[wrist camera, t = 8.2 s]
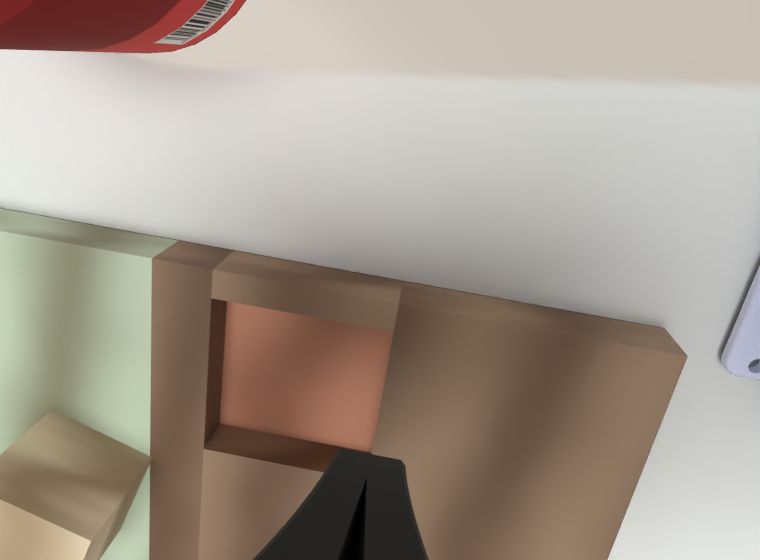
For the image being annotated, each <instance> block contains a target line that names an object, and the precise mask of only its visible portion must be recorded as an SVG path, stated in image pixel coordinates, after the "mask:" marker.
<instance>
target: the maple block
mask: <svg viewBox="0 0 760 560" xmlns="http://www.w3.org/2000/svg"><path fill="white" fill-rule="evenodd" d="M152 458H153V457H151V456H149V455H147V454H144V453H142V452H140V451H138V450H136V449H134V448H132V447H130V446H128V445H126V444H124V443H121V442H119V441H117V440H115V439H113V438H111V437H109V436H107V435H105V434H103V433H101V432H98V431H96V430H94V429H92V428H90V427H88V426H86V425H84V424H82V423H80V422H77V421H75V420H73V419H71V418H69V417H67V416H65V415H63V414H61V413H59V412H57V411H54V410H50V411H49V412H48V413H47V414H46V415H45V416H44V417H43V418H41V419H40V420H39V421H38V422H37V423H36V424H35V425H33V426H32V427H31V428H30V429H29V430H28V431H27V432H26V433H24V434H23V435H22V436H21V437H20V438H19V439H18V440H17V441H15V442H14V443H13V444H12V445H11V446H10V447H9V448H8V449H6V450H5V451H4V452H3V453H2V454H1V455H0V560H100V558H101V557H102V556H103V554H104V553H105V551H106V550H107V548H108V547H109V545H110V544H111V543H112V541H113V540H114V538H115V537H116V535H117V534H118V532H119V531H120V530H121V527H122V525H123V523H124V521H125V518H126V516H127V514H128V512H129V509H130V507H131V505H132V503H133V500H134V498H135V496H136V494H137V491H138V489H139V487H140V485H141V483H142V480H143V478H144V476H145V474H146V471H147V469H148V467H149V465H150V462H151V460H152Z"/></svg>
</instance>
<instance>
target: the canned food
mask: <svg viewBox="0 0 760 560" xmlns="http://www.w3.org/2000/svg"><path fill="white" fill-rule="evenodd" d="M245 1H246V0H0V49H15V50H51V51H86V52H121V53H159V52H172V51H176V50H178V49H182V48H185V47H189V46H191V45H195V44H197V43H199V42H200V41H202V40H204V39H205V38H207V37H209V36H211V35H212V34H214V33H216V32H217V31H218V30H219V29H220V28H222V27H223V26H224V25H225V24H226V23H227V22H228V21H229V20H230V19H231V18H232V17H233V16H235V15H236V13H237V12H238V11H239V9H240V8H241V7H242V5H243V4H244V3H245Z"/></svg>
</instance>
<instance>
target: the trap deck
mask: <svg viewBox="0 0 760 560" xmlns="http://www.w3.org/2000/svg"><path fill="white" fill-rule="evenodd" d="M686 359H687V355H686V354H685V353H684V351H683V350H682V349H681V348H680V347H679V345H678V344H677V343H676V342H675V341H674V339H673V338H672V337H671V336H670V335H669V333H668V332H667V331H666V330H665V328H660V327H654V326H648V325H643V324H637V323H632V322H626V321H621V320H615V319H610V318H604V317H599V316H593V315H588V314H582V313H577V312H571V311H565V310H560V309H554V308H549V307H543V306H538V305H532V304H527V303H521V302H516V301H510V300H505V299H499V298H494V297H488V296H483V295H477V294H471V293H466V292H460V291H455V290H449V289H444V288H438V287H433V286H427V285H422V284H416V283H411V282H405V281H400V280H394V279H389V278H383V277H377V276H372V275H366V274H361V273H355V272H350V271H344V270H339V269H333V268H328V267H322V266H317V265H311V264H306V263H300V262H295V261H289V260H283V259H278V258H272V257H267V256H261V255H256V254H250V253H245V252H239V251H234V250H228V249H223V248H217V247H212V246H206V245H201V244H195V243H189V242H184V241H178V240H173V239H167V238H162V237H156V236H151V235H145V234H140V233H134V232H129V231H123V230H118V229H112V228H106V227H101V226H95V225H90V224H84V223H79V222H73V221H68V220H62V219H57V218H51V217H46V216H40V215H35V214H29V213H24V212H18V211H12V210H7V209H1V208H0V455H1V454H2V453H3V452H4V451H5V450H6V449H8V448H9V447H10V446H11V445H12V444H13V443H14V442H15V441H17V440H18V439H19V438H20V437H21V436H22V435H23V434H24V433H26V432H27V431H28V430H29V429H30V428H31V427H32V426H33V425H35V424H36V423H37V422H38V421H39V420H40V419H41V418H43V417H44V416H45V415H46V414H47V413H48V412H49V411H50V410H54V411H57V412H59V413H61V414H63V415H65V416H67V417H69V418H71V419H73V420H75V421H77V422H80V423H82V424H84V425H86V426H88V427H90V428H92V429H94V430H96V431H98V432H101V433H103V434H105V435H107V436H109V437H111V438H113V439H115V440H117V441H119V442H121V443H124V444H126V445H128V446H130V447H132V448H134V449H136V450H138V451H140V452H142V453H144V454H147V455H149V456H151V457H153V458H152V460H151V462H150V465H149V467H148V469H147V471H146V474H145V476H144V478H143V480H142V483H141V485H140V487H139V489H138V491H137V494H136V496H135V498H134V500H133V503H132V505H131V507H130V509H129V512H128V514H127V516H126V518H125V521H124V523H123V525H122V527H121V530H120V531H119V532H118V534H117V535H116V537H115V538H114V540H113V541H112V543H111V544H110V545H109V547H108V548H107V550H106V551H105V553H104V554H103V556H102V557H101V558H100V560H253V559H254V558H255V557H256V555H257V554H258V553H259V552H260V551H261V550H262V549H263V548H264V547H265V546H266V545H267V544H268V543H269V542H270V540H271V539H272V538H273V537H274V536H275V535H276V534H277V533H278V532H279V530H280V529H281V528H282V527H283V526H284V525H285V524H286V523H287V521H288V520H289V519H290V518H291V517H292V515H293V514H294V513H295V512H296V510H297V509H298V508H299V506H300V505H301V504H302V503H303V501H304V500H305V499H306V497H307V496H308V495H309V494H310V492H311V491H312V490H313V488H314V487H315V485H316V484H317V482H318V481H319V480H320V478H321V477H322V475H323V473H324V472H325V470H326V469H327V467H328V465H329V464H330V462H331V460H332V458H333V456H334V454H335V452H336V451H338V450H340V449H347V450H352V451H357V452H363V453H368V454H373V455H378V456H383V457H389V458H394V459H399V460H402V462H403V463H404V464H405V466H406V477H407V484H408V489H409V494H410V499H411V503H412V507H413V511H414V515H415V518H416V522H417V525H418V528H419V532H420V535H421V538H422V541H423V544H424V547H425V550H426V553H427V556H428V559H429V560H607V559H608V556H609V554H610V551H611V549H612V546H613V544H614V541H615V539H616V536H617V534H618V531H619V529H620V526H621V524H622V521H623V518H624V516H625V513H626V511H627V508H628V506H629V503H630V501H631V498H632V496H633V493H634V491H635V488H636V486H637V483H638V480H639V478H640V475H641V473H642V470H643V468H644V465H645V463H646V460H647V458H648V455H649V453H650V450H651V448H652V445H653V442H654V440H655V437H656V435H657V432H658V430H659V427H660V425H661V422H662V420H663V417H664V415H665V412H666V410H667V407H668V404H669V402H670V399H671V397H672V394H673V392H674V389H675V387H676V384H677V382H678V379H679V377H680V374H681V372H682V369H683V366H684V364H685V361H686Z"/></svg>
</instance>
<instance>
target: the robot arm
mask: <svg viewBox="0 0 760 560" xmlns="http://www.w3.org/2000/svg"><path fill="white" fill-rule="evenodd" d="M755 359H759V362H758V364H757V365H756V366H753V367H748V366H749V364H750V362H751V361H753V360H755ZM721 363H722V366H723V367H724V368H725V369H726V370H727V371H728V372H729V373H730V374H733V375H735V376H741V377H746V378H751V379H757V380H760V265H759V268H758V270H757V273H756V275H755V277H754V280H753V282H752V285H751V287H750V289H749V292H748V294H747V296H746V299H745V301H744V304H743V306H742V308H741V311H740V313H739V316H738V318H737V320H736V323H735V325H734V327H733V330H732V332H731V335H730V337H729V339H728V342H727V344H726V347H725V349H724V351H723V354H722V357H721ZM253 560H429V559H428V556H427V553H426V550H425V547H424V544H423V541H422V538H421V535H420V532H419V528H418V525H417V522H416V518H415V515H414V511H413V507H412V503H411V499H410V494H409V489H408V484H407V477H406V466H405V464H404V463H403V462H402V460H399V459H394V458H389V457H383V456H378V455H373V454H368V453H363V452H357V451H352V450H347V449H340V450H338V451H336V452H335V454H334V456H333V458H332V460H331V462H330V464H329V465H328V467H327V469H326V470H325V472H324V473H323V475H322V477H321V478H320V480H319V481H318V482H317V484H316V485H315V487H314V488H313V490H312V491H311V492H310V494H309V495H308V496H307V497H306V499H305V500H304V501H303V503H302V504H301V505H300V506H299V508H298V509H297V510H296V512H295V513H294V514H293V515H292V517H291V518H290V519H289V520H288V521H287V523H286V524H285V525H284V526H283V527H282V528H281V529H280V530H279V532H278V533H277V534H276V535H275V536H274V537H273V538H272V539H271V540H270V542H269V543H268V544H267V545H266V546H265V547H264V548H263V549H262V550H261V551H260V552H259V553H258V554H257V555H256V557H255V558H254V559H253Z"/></svg>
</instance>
